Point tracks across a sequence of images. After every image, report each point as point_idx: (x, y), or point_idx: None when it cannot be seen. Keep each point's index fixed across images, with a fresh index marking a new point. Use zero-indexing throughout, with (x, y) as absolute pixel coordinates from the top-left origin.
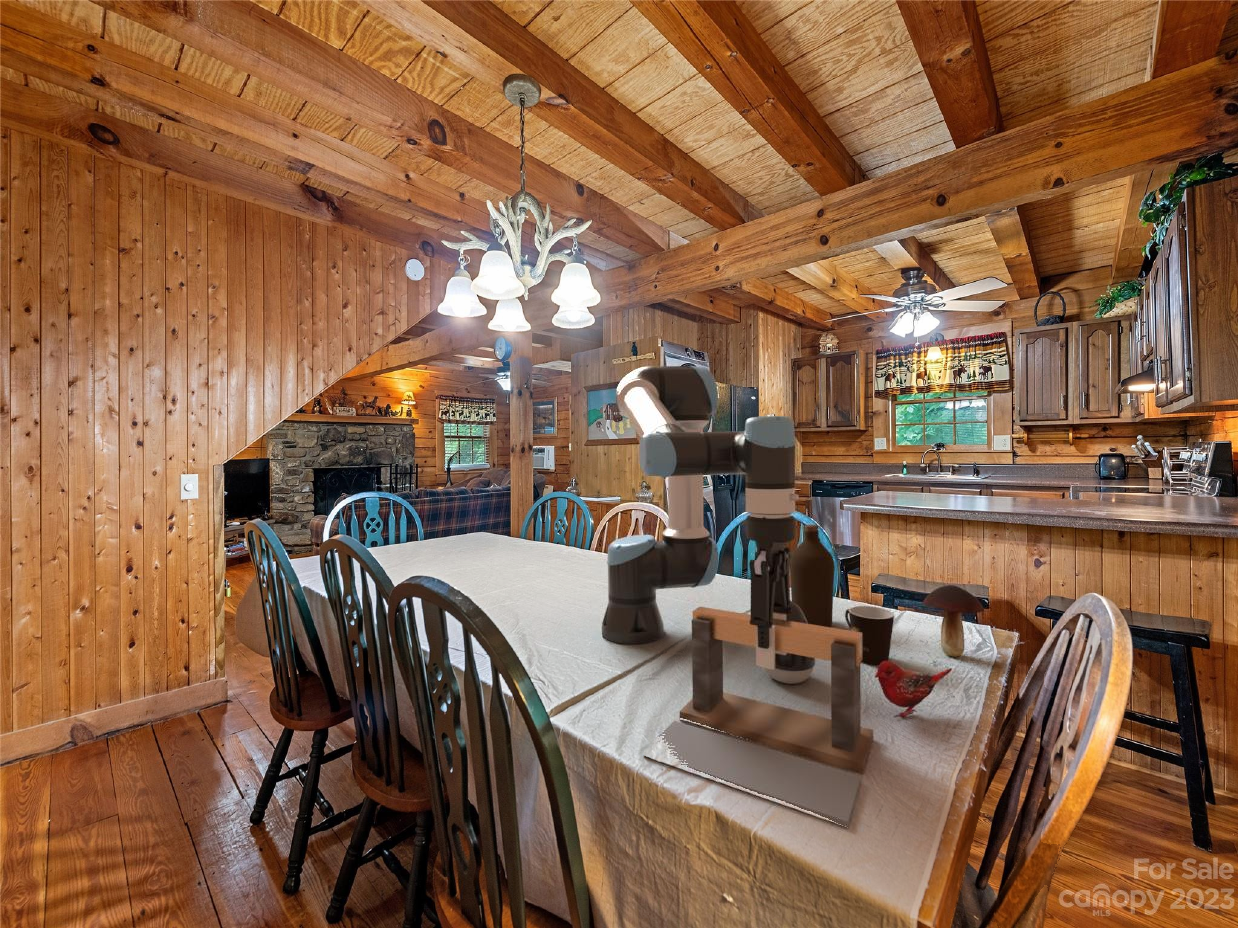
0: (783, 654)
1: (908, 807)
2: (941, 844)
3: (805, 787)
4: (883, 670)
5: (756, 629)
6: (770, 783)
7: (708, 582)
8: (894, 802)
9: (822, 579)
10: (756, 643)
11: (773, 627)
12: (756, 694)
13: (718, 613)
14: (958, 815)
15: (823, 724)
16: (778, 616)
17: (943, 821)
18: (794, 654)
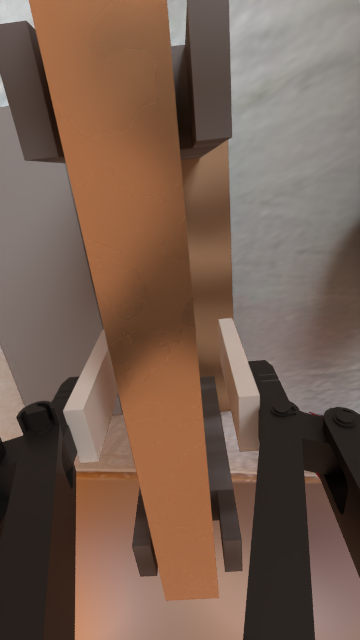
0: (220, 357)
1: (113, 448)
2: (79, 472)
3: (50, 374)
4: (317, 474)
5: (70, 398)
6: (23, 340)
7: None
8: (111, 438)
9: None
10: (85, 366)
11: (81, 462)
12: (292, 197)
13: (107, 181)
14: (133, 478)
15: (210, 355)
16: (238, 425)
17: (114, 470)
18: None
